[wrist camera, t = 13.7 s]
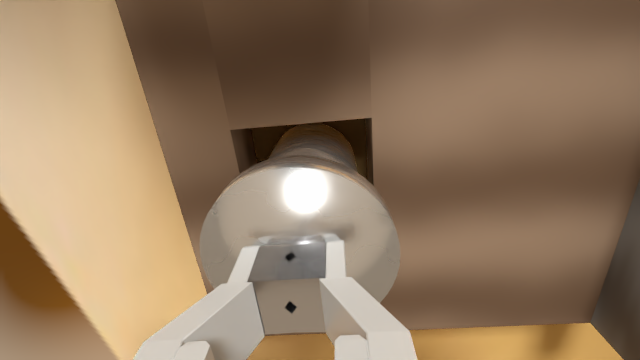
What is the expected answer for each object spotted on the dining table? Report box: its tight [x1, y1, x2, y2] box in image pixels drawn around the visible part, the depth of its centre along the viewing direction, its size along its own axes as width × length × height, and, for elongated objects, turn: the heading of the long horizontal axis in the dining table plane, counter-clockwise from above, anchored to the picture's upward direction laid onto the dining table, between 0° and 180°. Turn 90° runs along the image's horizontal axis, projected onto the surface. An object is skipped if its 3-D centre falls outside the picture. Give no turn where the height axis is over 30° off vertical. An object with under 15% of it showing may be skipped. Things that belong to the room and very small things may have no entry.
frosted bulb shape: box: [199, 123, 400, 303], centre depth 13 cm, size 6×6×8 cm
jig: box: [116, 0, 640, 360], centre depth 14 cm, size 18×22×6 cm
